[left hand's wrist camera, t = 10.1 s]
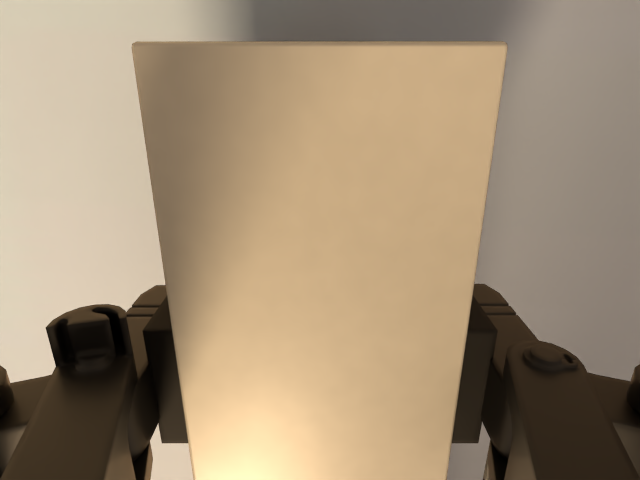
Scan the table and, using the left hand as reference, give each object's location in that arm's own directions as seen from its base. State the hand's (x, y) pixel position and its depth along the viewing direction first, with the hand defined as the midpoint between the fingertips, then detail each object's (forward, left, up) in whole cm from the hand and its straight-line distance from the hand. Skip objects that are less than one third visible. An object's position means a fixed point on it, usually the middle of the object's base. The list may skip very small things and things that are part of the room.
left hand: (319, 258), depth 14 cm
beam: (+25, 0, -1) cm, 25 cm away
